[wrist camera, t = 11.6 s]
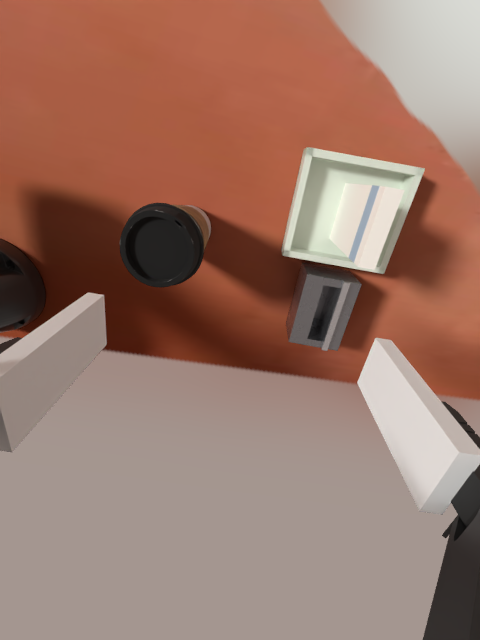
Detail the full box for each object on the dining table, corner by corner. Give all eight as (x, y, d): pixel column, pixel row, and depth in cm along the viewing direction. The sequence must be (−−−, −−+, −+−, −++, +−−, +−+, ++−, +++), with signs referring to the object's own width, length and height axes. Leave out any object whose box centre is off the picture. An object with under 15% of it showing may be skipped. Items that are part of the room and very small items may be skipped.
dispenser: (286, 323, 48) (289, 344, 42) (301, 262, 43) (307, 275, 37) (329, 330, 48) (338, 352, 42) (349, 270, 43) (362, 285, 37)
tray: (281, 249, 43) (282, 255, 40) (303, 149, 37) (307, 147, 34) (375, 266, 43) (383, 274, 40) (411, 169, 37) (425, 168, 34)
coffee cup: (232, 226, 42) (217, 250, 28) (194, 268, 45) (164, 308, 31) (185, 180, 40) (145, 183, 26) (149, 228, 43) (96, 252, 29)
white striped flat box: (329, 238, 41) (357, 266, 28) (345, 182, 38) (385, 186, 25) (340, 240, 41) (374, 270, 28) (358, 185, 38) (404, 189, 25)
